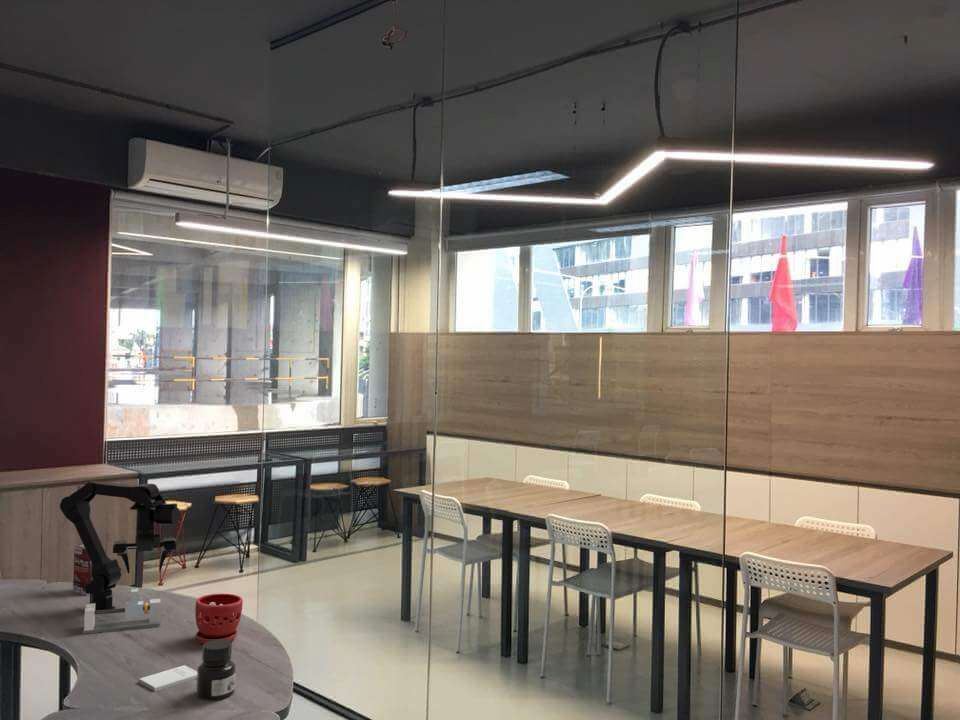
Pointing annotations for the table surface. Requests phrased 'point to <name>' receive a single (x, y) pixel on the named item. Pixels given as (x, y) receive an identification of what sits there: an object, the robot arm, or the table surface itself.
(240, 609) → the plant pot
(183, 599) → the table surface
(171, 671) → the external hard drive
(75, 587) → the supplement box
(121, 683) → the table surface
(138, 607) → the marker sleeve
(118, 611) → the grey slide rail
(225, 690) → the ink bottle
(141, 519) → the robot arm
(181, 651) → the table surface
